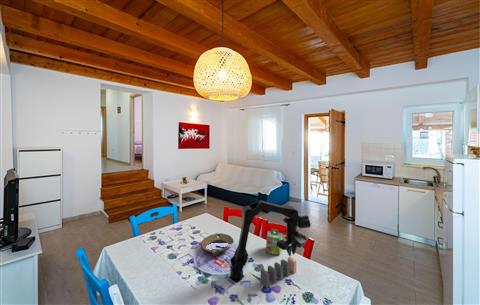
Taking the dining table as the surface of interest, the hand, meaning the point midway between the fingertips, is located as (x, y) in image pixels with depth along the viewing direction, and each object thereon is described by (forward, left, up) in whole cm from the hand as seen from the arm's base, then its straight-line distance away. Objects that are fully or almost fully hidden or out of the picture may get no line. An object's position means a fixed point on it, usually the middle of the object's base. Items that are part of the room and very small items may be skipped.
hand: (291, 255), depth 119 cm
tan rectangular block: (0, 0, -9) cm, 9 cm away
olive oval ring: (-52, -9, -10) cm, 53 cm away
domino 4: (-2, -5, -9) cm, 11 cm away
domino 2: (-5, -14, -9) cm, 18 cm away
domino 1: (-7, -19, -9) cm, 22 cm away
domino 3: (-4, -10, -9) cm, 14 cm away
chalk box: (-18, +13, -9) cm, 23 cm away
